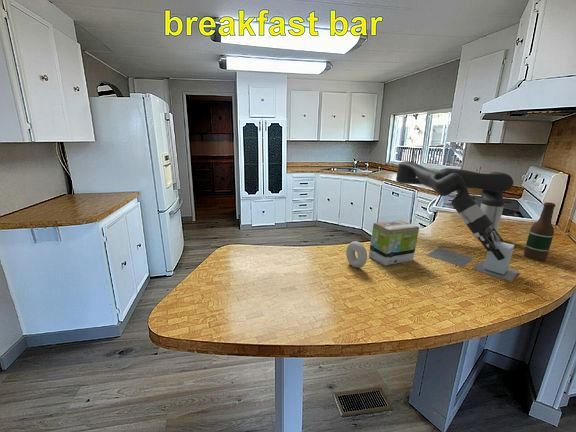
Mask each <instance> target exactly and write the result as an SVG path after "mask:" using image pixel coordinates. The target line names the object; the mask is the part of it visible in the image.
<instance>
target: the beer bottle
mask: <svg viewBox="0 0 576 432" xmlns="http://www.w3.org/2000/svg"><path fill="white" fill-rule="evenodd" d="M542 205H543V208H542V211H541V213H540V216H539V218H538V220H537V221H536V222H534V223H533V224H532V225H531V227H530V230H529V232H528V237H527V240H526V243H525V247H524V250H523V251H524V252H523V255H524V257H526V258H527V259H529V260H533V261H538V262H540V261H541V262H542V261H546V260H547V258H548V254H549V251H550V250H551V249H550V248H551V245H552V241H553V238H554V234H555V229H554V226H553V224H552V220H553V215H554V210H555V208H556V203H553V202H548V201H547V202H544V203H543V204H542Z"/></svg>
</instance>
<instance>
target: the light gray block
mask: <svg viewBox="0 0 576 432" xmlns="http://www.w3.org/2000/svg"><path fill="white" fill-rule="evenodd" d="M496 246H497V247H498V249H499V250H500V252H501V253H502V254H503V255H504V257H505V258H504V259H502V260H498V259H497V258H496V257H495V255H494V254H493V253H492V252H490V251H487V250H486V255H485V256H486V257H485V259H484V261H485V263H484V267H483V269H487V270H490V271H493V272H496V273H500V274H503V275H504V274H505V273H506V271H507V270H508V268H509V267H510V264H511V259H512V255H513V252H514V248H515V244H512V243H507V242H504V241H503V242H499V241H496ZM490 247H491V246H490ZM509 269H510V268H509Z"/></svg>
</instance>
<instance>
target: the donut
mask: <svg viewBox="0 0 576 432" xmlns="http://www.w3.org/2000/svg"><path fill="white" fill-rule="evenodd" d="M345 251H346V252H345V254H346V259H347V262H348V263H349V265H351V266H352V267H353V268H355V269H361V268H363V267H365V265H366V264H367V261H368V253H367V249H366V248H365V246H364V244H362V243H361V242H360V241H357V240H355V241H354V240H353V241H351V242H349V244H348V245H347V247H346V250H345ZM356 253H357V256H356Z"/></svg>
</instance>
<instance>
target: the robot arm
mask: <svg viewBox="0 0 576 432" xmlns="http://www.w3.org/2000/svg"><path fill="white" fill-rule="evenodd" d="M395 180H396V182H397V183H399V184H404V185H424V186H425V187H428V188H431V189H432V190H433V191H434V192H436V194H437V195H438V196H440V197H445V196H449V195H451V194H453V193H454V192H456V195H457V196H456V197H454V198H453V199H452V200H451V205H452V207H453V208H454V209H455V211H456V212H457V213H458V214H459V216H460V218H461V220H462V221H463V223H464V225H465V226H467V228H468V230H470V232H471V233H472V235H473V236H474V237H475V238H477V240H478V241H479V242H480V244H482V246H483V247H484V249H486V252H487V251H490V252H492V253H493V254H494V255H495V257H496V258H497V259H498V260H502V259H504V258H505V257H504V255H503V254H502V253H501V252H500V250H499V249H498V247H497V246H496V241H499V242H504V239H503V238H502V236H501V235H500V234H499V233H498V231H499V226H500V222H501V218H502V215H503V211H504V207H505V202H506V201H505V199H504V197H503V193H504V192H507V191H509V190H510V189H511V188H513V186H514V183H515V182H514V179H513V177H512V176H510V175H509V174H508V173H505V172H501V171H492V172H490V173H482V172H481V173H480V172H475V171H472V170H466V169H459V168H452V167H451V168H450V167H449V168H448V167H446V168H445V167H444V168H442V169H440V170H436V171H434V170H430V169H429V168H426V167H424V166H423V165H420V164H419V163H416V162H414V161H406V160H405V161H401V162H399V163H398V166H397V173H396V179H395ZM468 189H480V190H481V195H480V197H481V201H480V202H481V203H480V206H479V204H478V203H477V202H476V201H475V199H473V198H472V196H471V193H469V191H468ZM490 246H491V247H490Z"/></svg>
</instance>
